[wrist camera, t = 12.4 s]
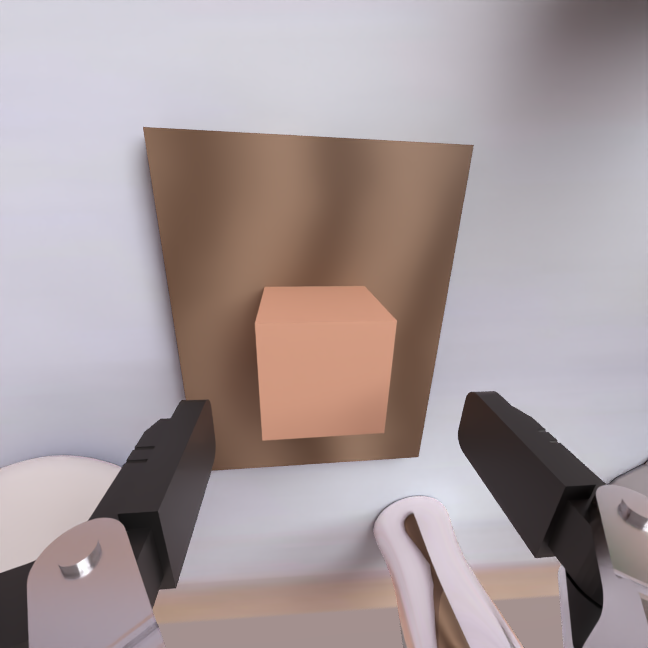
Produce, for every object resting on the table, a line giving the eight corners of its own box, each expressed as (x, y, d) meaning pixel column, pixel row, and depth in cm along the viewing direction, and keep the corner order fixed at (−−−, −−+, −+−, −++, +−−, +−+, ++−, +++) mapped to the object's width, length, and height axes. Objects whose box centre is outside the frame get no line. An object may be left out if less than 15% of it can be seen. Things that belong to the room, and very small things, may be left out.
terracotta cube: (364, 285, 16) (397, 320, 11) (358, 372, 18) (384, 432, 13) (264, 286, 15) (254, 323, 11) (269, 375, 17) (262, 440, 12)
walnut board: (459, 149, 15) (473, 145, 14) (411, 444, 22) (418, 456, 20) (154, 133, 13) (142, 127, 12) (202, 456, 20) (197, 471, 19)
